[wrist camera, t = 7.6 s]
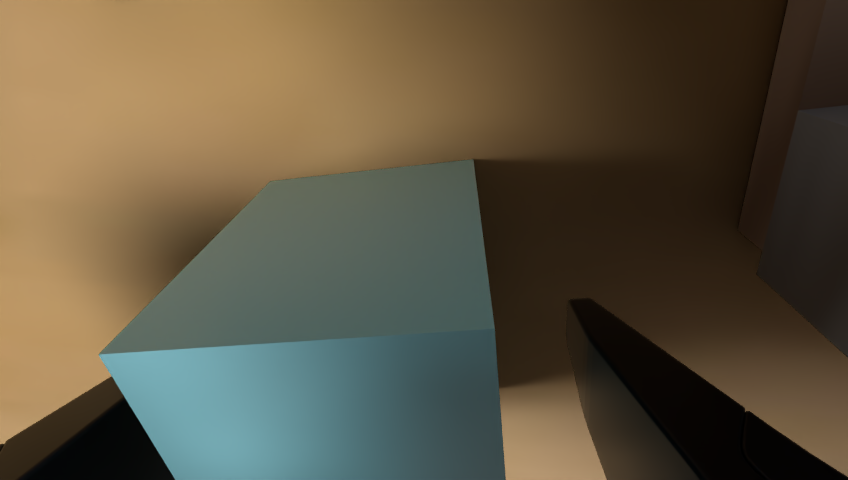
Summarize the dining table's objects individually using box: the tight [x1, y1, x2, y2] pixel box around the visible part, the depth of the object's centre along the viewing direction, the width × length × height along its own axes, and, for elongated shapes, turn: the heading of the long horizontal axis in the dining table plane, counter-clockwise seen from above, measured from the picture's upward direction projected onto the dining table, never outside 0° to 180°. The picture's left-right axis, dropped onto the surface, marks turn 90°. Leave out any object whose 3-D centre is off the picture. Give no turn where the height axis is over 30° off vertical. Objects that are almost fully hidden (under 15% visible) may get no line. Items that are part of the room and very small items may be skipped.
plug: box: [99, 159, 506, 480], centre depth 9 cm, size 9×4×5 cm, turn 7°
